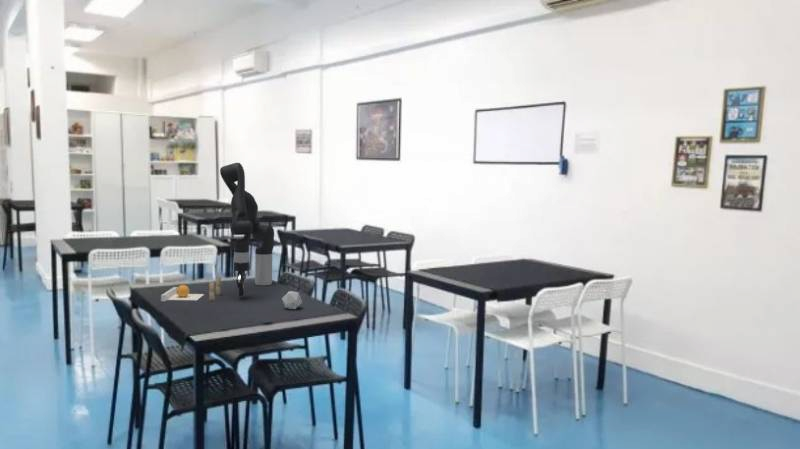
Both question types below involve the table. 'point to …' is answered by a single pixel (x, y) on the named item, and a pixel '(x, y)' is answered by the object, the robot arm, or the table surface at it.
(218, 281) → the post
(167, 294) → the stopper wall
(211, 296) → the post
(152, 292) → the table surface
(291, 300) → the die
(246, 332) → the table surface
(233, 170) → the robot arm
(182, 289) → the ball
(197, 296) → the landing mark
